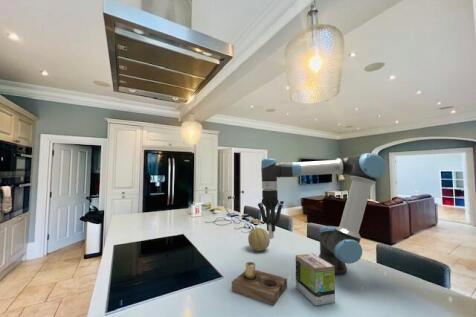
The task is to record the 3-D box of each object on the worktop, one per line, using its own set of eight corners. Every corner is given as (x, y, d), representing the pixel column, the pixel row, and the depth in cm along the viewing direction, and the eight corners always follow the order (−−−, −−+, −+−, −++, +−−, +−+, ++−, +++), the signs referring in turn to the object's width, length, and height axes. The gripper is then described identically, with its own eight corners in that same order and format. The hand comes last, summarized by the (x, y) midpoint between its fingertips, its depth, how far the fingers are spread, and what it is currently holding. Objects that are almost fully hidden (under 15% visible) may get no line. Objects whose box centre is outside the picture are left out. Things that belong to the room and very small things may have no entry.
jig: (248, 275, 110) (248, 267, 110) (286, 287, 99) (286, 278, 100) (231, 290, 96) (231, 281, 96) (273, 305, 86) (273, 295, 86)
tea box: (336, 302, 88) (335, 265, 89) (315, 306, 86) (314, 268, 86) (313, 283, 103) (313, 252, 104) (294, 287, 100) (294, 254, 101)
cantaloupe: (267, 255, 136) (267, 231, 137) (245, 252, 141) (245, 229, 142) (271, 248, 150) (271, 226, 151) (251, 245, 155) (251, 224, 156)
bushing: (248, 282, 103) (248, 261, 104) (256, 285, 101) (256, 263, 102) (243, 286, 100) (244, 264, 100) (252, 289, 97) (252, 266, 98)
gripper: (254, 190, 107) (256, 238, 106) (279, 190, 100) (281, 242, 99) (260, 188, 113) (262, 234, 112) (284, 189, 107) (286, 237, 106)
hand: (271, 237), depth 106 cm, fingers closed
